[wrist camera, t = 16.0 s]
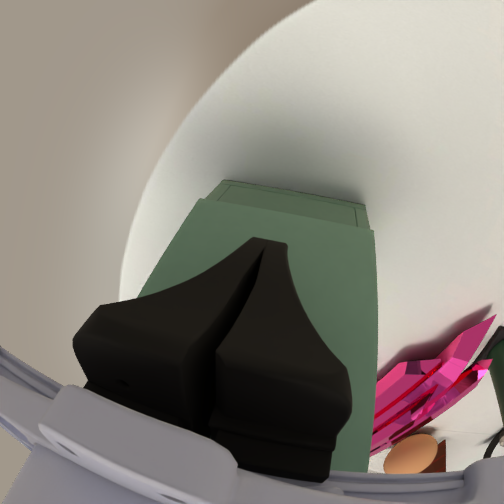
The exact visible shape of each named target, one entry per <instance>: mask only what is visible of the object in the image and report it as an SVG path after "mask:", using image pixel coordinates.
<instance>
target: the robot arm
mask: <svg viewBox="0 0 504 504" xmlns="http://www.w3.org/2000/svg"><path fill="white" fill-rule="evenodd" d="M73 349H74V352H75V355H76V357H77V359H78V361H79V363H80V365H81V367H82V369H83V371H84V373H85V375H86V377H87V379H88V381H87V383H86V384H85V386H84V387H83V388H81V387H78V386H76V385H67V386H63V385H61V384H59V383H57V382H56V381H54V380H52V379H50V378H49V377H47V376H45V375H44V374H42V373H40V372H39V371H37V370H35V369H34V368H32V367H31V366H29V365H27V364H26V363H24V362H23V361H21V360H20V359H18V358H16V357H15V356H14V355H12V354H10V353H9V352H8V351H6V350H5V349H3V348H2V347H1V346H0V426H1V427H2V428H3V429H5V430H6V431H7V432H8V433H9V434H10V435H12V436H13V437H14V438H15V439H17V440H18V441H19V442H20V443H22V444H23V445H24V446H25V447H27V448H28V449H29V450H31V451H32V452H31V453H30V455H29V457H28V458H27V460H26V462H25V463H24V465H23V467H22V469H21V470H20V472H19V474H18V475H17V477H16V479H15V481H14V482H13V484H12V487H11V488H10V490H9V491H8V493H7V495H6V497H5V499H4V501H3V502H2V504H504V456H499V457H492V458H485V459H481V460H479V461H476V462H474V463H472V464H471V465H469V466H468V467H467V468H466V469H465V470H462V471H452V472H439V473H417V474H383V473H361V472H347V471H336V470H330V467H331V459H332V451H334V450H335V448H336V441H337V435H338V434H339V432H340V431H341V430H342V428H343V427H344V426H345V424H346V423H347V421H348V420H349V418H350V416H351V414H352V406H353V403H352V391H351V384H350V379H349V374H348V370H347V368H346V366H345V365H344V364H343V363H342V362H341V361H340V360H339V359H338V358H337V357H336V356H335V355H334V354H333V352H332V351H331V350H330V349H329V348H328V346H327V345H326V344H325V342H324V341H323V340H322V338H321V337H320V335H319V334H318V332H317V331H316V329H315V328H314V326H313V324H312V323H311V321H310V319H309V318H308V316H307V314H306V312H305V310H304V308H303V306H302V304H301V301H300V299H299V297H298V294H297V291H296V288H295V286H294V283H293V279H292V275H291V271H290V267H289V262H288V245H287V244H286V243H284V242H278V241H273V240H268V239H263V238H258V237H252V238H250V239H249V240H248V241H246V242H245V243H244V244H243V245H241V246H240V247H239V248H237V249H236V250H235V251H234V252H232V253H231V254H230V255H228V256H227V257H225V258H224V259H223V260H221V261H220V262H218V263H217V264H215V265H214V266H212V267H210V268H209V269H207V270H206V271H204V272H202V273H201V274H199V275H197V276H195V277H193V278H191V279H189V280H187V281H185V282H182V283H180V284H177V285H175V286H172V287H170V288H167V289H165V290H162V291H159V292H156V293H153V294H150V295H147V296H143V297H139V298H135V299H131V300H127V301H121V302H116V303H110V304H105V305H100V306H99V307H98V308H97V309H96V310H95V311H94V312H93V313H92V314H91V316H90V317H89V318H88V319H87V321H86V322H85V323H84V324H83V326H82V327H81V328H80V329H79V331H78V332H77V333H76V334H75V336H74V338H73ZM210 436H211V439H210Z"/></svg>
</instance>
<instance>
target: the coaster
mask: <svg viewBox="0 0 504 504" xmlns="http://www.w3.org/2000/svg"><path fill="white" fill-rule="evenodd" d="M503 339H504V327H500V326H499V328H498V329H497V331H496V332H495V334H494V335H493V337H492V338H491V340H490V341H489V342H488V344H487V345H486V347H485V348H484V349H483V351H482V352H481V354H480V355H479V356H478V358H477V359H476V360H475V362H474V363H476V362H479V361H481V360H487V356H488V354H489V352H490V350H491V349H492V348H493V347H494V346H495V345H496V344H497V343H498V342H500V341H501V340H503ZM474 363H473V364H474ZM488 370H489V368H488Z"/></svg>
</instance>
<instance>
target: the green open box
mask: <svg viewBox="0 0 504 504" xmlns="http://www.w3.org/2000/svg"><path fill="white" fill-rule="evenodd" d="M205 199H207V200H214V201H220V202H226V203H232V204H238V205H244V206H250V207H256V208H261V209H267V210H273V211H278V212H284V213H289V214H294V215H300V216H305V217H310V218H315V219H320V220H325V221H331V222H336V223H340V224H345V225H350V226H355V227H360V228H364V229H369V230H370V226H369V221H368V217H367V212H366V207H365V205H361V204H356V203H352V202H347V201H342V200H337V199H332V198H327V197H322V196H317V195H312V194H306V193H301V192H295V191H290V190H284V189H278V188H273V187H267V186H261V185H254V184H248V183H241V182H235V181H228V180H223V181H222V182H221V183H220V184H219V185H218V186H217V187H216V188H215V189H214V190H213V191H212V192H211V193H210V194H209V195H208V196H207V197H206V198H205Z"/></svg>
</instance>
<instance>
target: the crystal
mask: <svg viewBox="0 0 504 504" xmlns="http://www.w3.org/2000/svg"><path fill="white" fill-rule="evenodd" d="M496 315H497V314H496ZM496 315H494V316H492V317H491V318H489V319H487V320H485V321H483V322H481V323H479V324H477V325H475V326H473V327H471V328H469V329H467V330H465V331H464V332H462V333H461V334H460V335H458V336H457V337H456V338H455V340H454V341H453V342H452V343H450V344H449V345H448V346H447V347H446V348H445V349H444V350H443V351H442V352H441V353H440V354H439V355H438V356H437V357H436V358H435V359H432V360H421V361H409V362H401V363H398V364H397V365H396V366H395V367H394V368H393V369H392V370H391V371H390V372H389V373H387V374H386V375H385V376H384V377H383V378H382V379H381V380H380V381H378V382H377V383H376V397H375V410H374V422H373V432H372V441H371V449H370V457H371V456H372V455H375V454H377V453H379V452H381V451H382V450H384V449H386V448H388V447H390V446H391V445H393V444H395V443H397V442H398V441H400V440H402V439H403V438H405V437H407V436H408V435H410V434H412V433H413V432H415V431H416V430H418V429H420V428H421V427H423V426H424V425H426V424H427V423H429V422H430V421H432V420H433V419H435V418H436V417H438V416H439V415H440V414H442V413H443V412H445V411H446V410H447V409H449V408H450V407H452V406H453V405H454V404H456V403H457V402H458V401H459V400H460V399H462V398H463V397H464V396H465V395H467V394H468V393H469V392H470V391H472V390H473V389H474V388H475V387H476V386H477V385H478V383H479V382H480V380H481V379H482V377H483V376H484V374H485V373H486V371H487V370H488V368H489V366H490V364H491V362H492V360H493V359H487V360H481V361H479V362H476V363H474V364H472V365H470V366H469V367H468V368H467V369H466V370H464V371H463V369H464V368H465V366H466V365H467V363H468V362H469V360H470V359H471V357H472V356H473V354H474V353H475V351H476V349H477V348H478V346H479V344H480V343H481V341H482V339H483V338H484V336H485V334H486V333H487V331H488V329H489V327H490V326H491V324H492V322H493V320H494V318H495V316H496ZM462 371H463V372H462ZM461 372H462V373H461Z"/></svg>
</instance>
